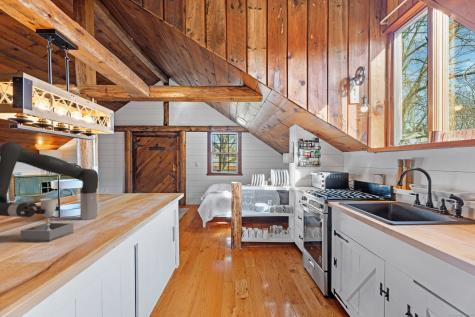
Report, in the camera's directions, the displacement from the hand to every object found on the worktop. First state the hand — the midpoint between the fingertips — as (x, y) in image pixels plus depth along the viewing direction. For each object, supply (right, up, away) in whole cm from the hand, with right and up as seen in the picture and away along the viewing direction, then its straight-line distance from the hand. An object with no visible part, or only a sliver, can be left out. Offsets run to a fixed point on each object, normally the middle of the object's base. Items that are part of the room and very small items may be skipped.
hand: (52, 210), depth 123 cm
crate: (-2, -14, 0) cm, 14 cm away
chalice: (-2, -13, 0) cm, 13 cm away
